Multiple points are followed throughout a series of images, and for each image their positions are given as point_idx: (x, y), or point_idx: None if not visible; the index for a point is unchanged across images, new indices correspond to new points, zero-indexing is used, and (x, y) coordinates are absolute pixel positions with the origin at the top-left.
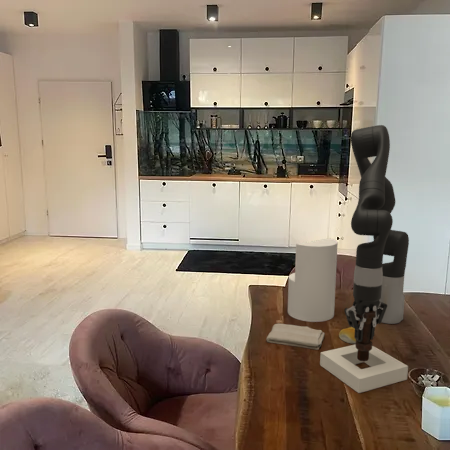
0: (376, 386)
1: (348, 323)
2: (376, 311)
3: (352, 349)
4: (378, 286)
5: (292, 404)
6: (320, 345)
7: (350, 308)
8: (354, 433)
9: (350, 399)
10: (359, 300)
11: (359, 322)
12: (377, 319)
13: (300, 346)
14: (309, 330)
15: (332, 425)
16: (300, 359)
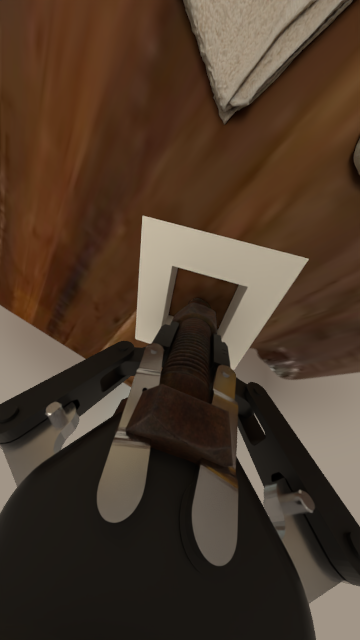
0: None
1: (109, 347)
2: (273, 450)
3: (225, 264)
4: None
5: (54, 285)
6: (259, 91)
7: (8, 457)
8: (94, 353)
9: (126, 326)
10: None
11: (167, 365)
12: (241, 413)
13: (194, 31)
14: None
15: (81, 336)
16: (134, 153)
